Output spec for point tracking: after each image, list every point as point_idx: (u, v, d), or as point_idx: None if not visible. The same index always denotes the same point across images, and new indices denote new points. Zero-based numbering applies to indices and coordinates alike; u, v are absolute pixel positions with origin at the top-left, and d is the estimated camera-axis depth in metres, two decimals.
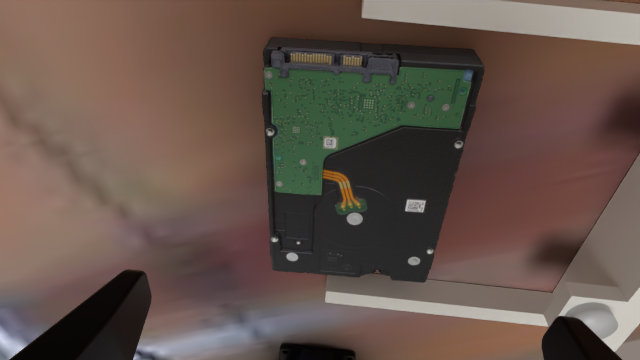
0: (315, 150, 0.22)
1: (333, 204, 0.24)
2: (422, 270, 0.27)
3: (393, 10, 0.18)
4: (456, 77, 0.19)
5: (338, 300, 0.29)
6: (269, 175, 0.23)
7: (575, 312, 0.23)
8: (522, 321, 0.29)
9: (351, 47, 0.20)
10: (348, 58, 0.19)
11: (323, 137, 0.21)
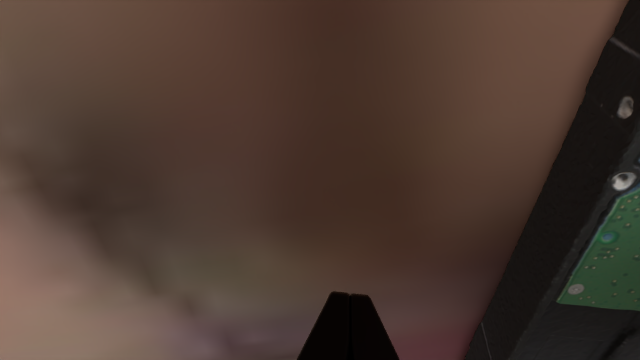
0: None
1: None
2: None
3: None
4: None
5: None
6: (564, 273, 0.10)
7: None
8: None
9: None
10: None
11: None
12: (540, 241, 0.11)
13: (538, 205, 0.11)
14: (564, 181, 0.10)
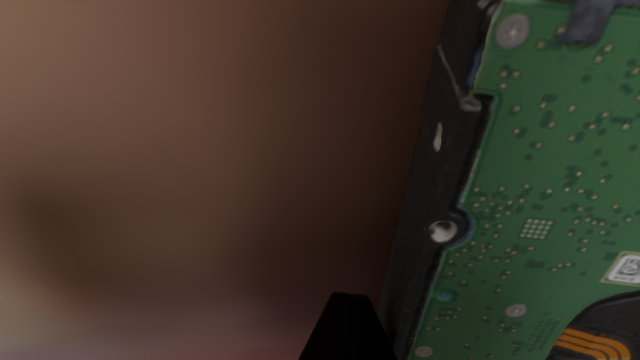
0: (572, 284, 0.07)
1: None
2: None
3: None
4: None
5: None
6: (403, 334, 0.08)
7: None
8: None
9: None
10: None
11: (617, 254, 0.07)
12: (391, 289, 0.09)
13: (394, 244, 0.09)
14: (405, 221, 0.08)
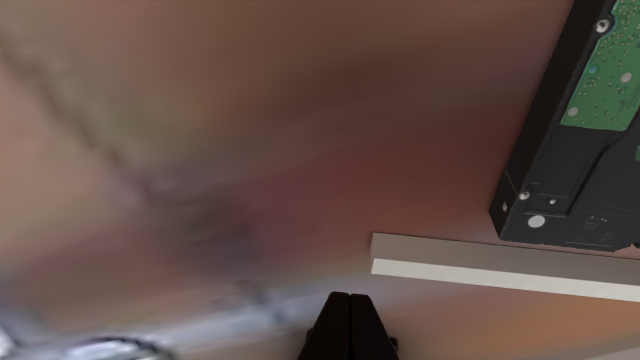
0: None
1: (637, 144, 0.17)
2: None
3: None
4: None
5: (388, 270, 0.23)
6: (566, 97, 0.16)
7: None
8: (623, 297, 0.23)
9: None
10: None
11: None
12: (550, 87, 0.17)
13: (550, 66, 0.18)
14: (567, 41, 0.16)
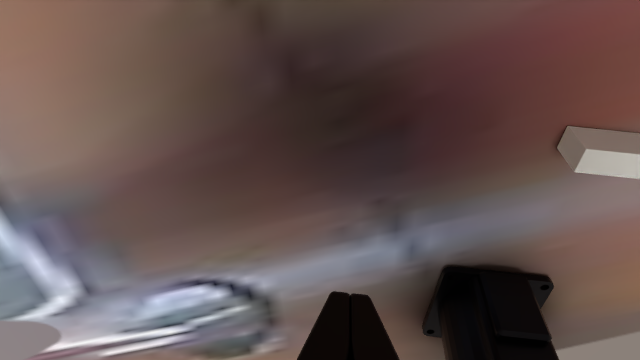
0: None
1: None
2: None
3: None
4: None
5: (598, 167, 0.18)
6: None
7: None
8: None
9: None
10: None
11: None
12: None
13: None
14: None
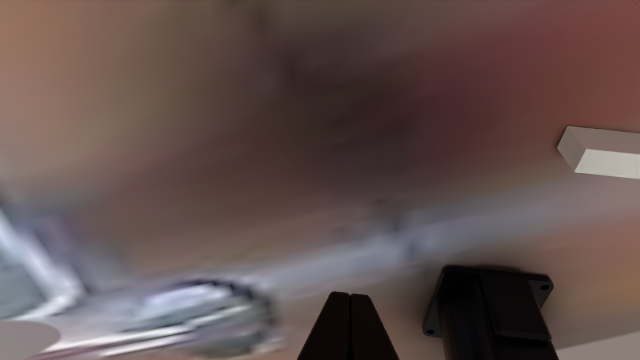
0: None
1: None
2: None
3: None
4: None
5: (598, 167, 0.18)
6: None
7: None
8: None
9: None
10: None
11: None
12: None
13: None
14: None
